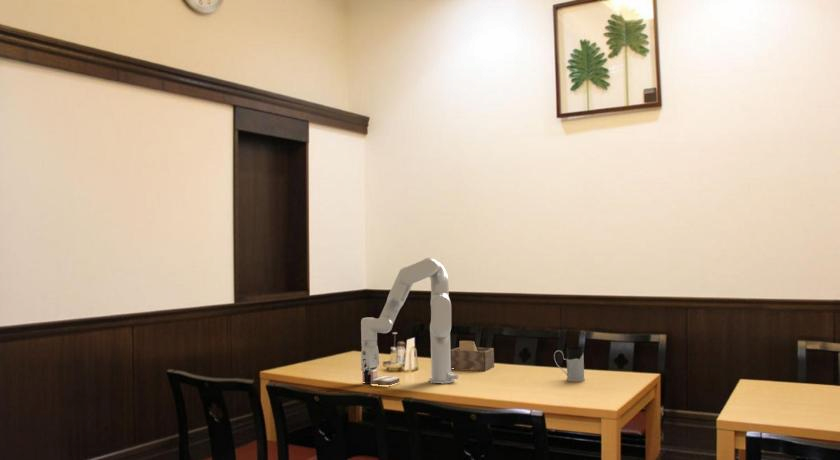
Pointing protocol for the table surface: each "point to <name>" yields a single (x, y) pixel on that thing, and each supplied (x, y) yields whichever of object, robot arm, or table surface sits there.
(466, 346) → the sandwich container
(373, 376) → the pink block
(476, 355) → the brown storage basket
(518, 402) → the table surface
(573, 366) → the glass holder
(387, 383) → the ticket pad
